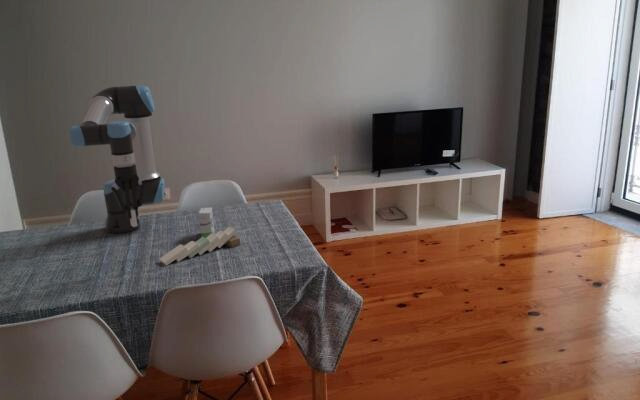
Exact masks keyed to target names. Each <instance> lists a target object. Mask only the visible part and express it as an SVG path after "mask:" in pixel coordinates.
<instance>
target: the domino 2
mask: <svg viewBox="0 0 640 400" xmlns="http://www.w3.org/2000/svg"><path fill="white" fill-rule="evenodd" d="M195 242H196V241H194V240H191V241H189V242H188V243H186V244H185V245H184V246H185V247H186V248H187V250H188V251H187V252H185V253H184V254H182V255H181V256H180V257H178V258H177V259H175V260H174V261H176V262H177V263H180V262H181V261H182V260H184V259H185V258H186V257H188V255H189V254H190V253H192V252H193V251H194V250H196V249H197V248H198V247H199V245H198V244H197V243H195Z"/></svg>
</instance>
